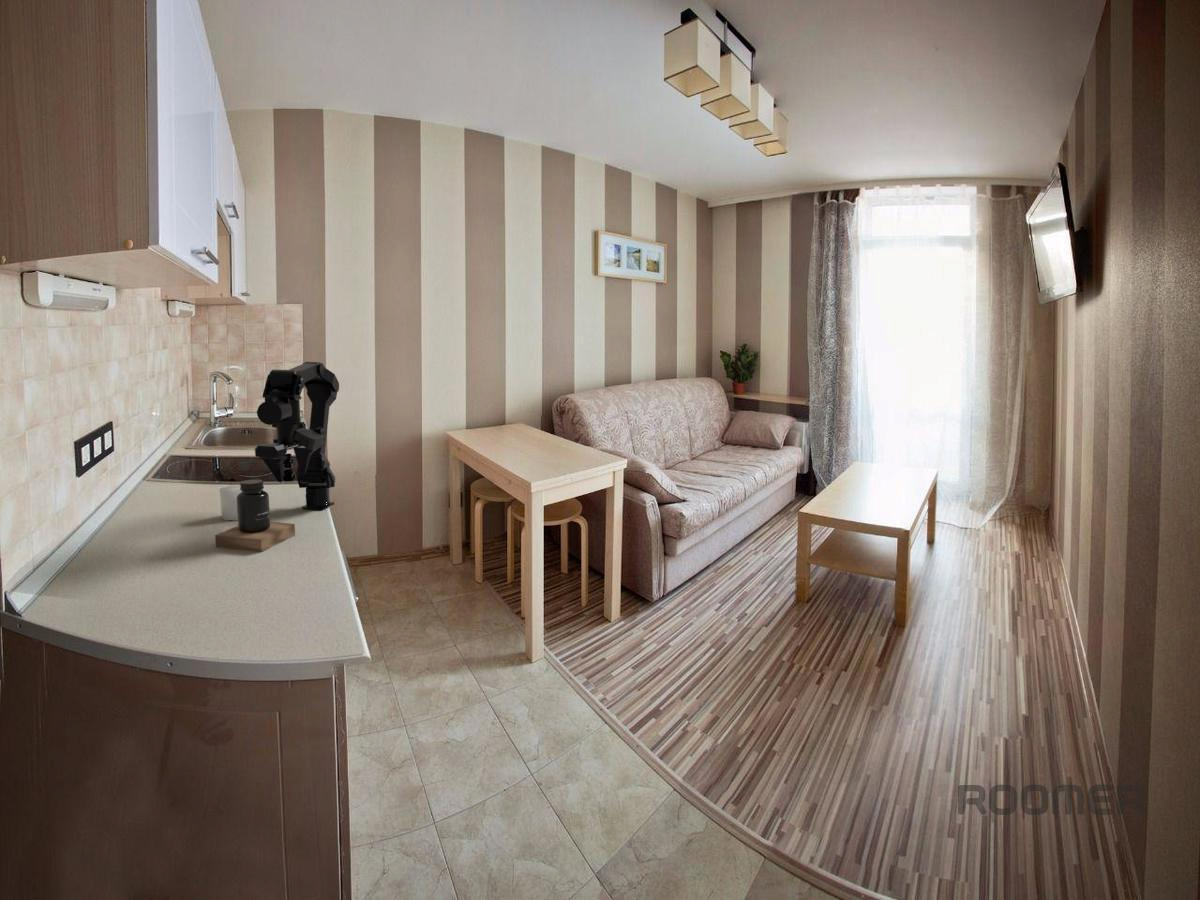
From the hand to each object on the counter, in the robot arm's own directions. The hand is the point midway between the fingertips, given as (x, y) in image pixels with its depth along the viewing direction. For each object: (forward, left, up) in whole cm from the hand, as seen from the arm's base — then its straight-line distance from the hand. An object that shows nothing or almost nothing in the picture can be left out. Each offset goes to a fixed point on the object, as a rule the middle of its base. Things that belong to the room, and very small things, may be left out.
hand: (292, 477), depth 155 cm
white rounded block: (-2, -19, -13) cm, 23 cm away
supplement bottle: (+13, -1, -10) cm, 16 cm away
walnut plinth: (+13, -1, -13) cm, 18 cm away
